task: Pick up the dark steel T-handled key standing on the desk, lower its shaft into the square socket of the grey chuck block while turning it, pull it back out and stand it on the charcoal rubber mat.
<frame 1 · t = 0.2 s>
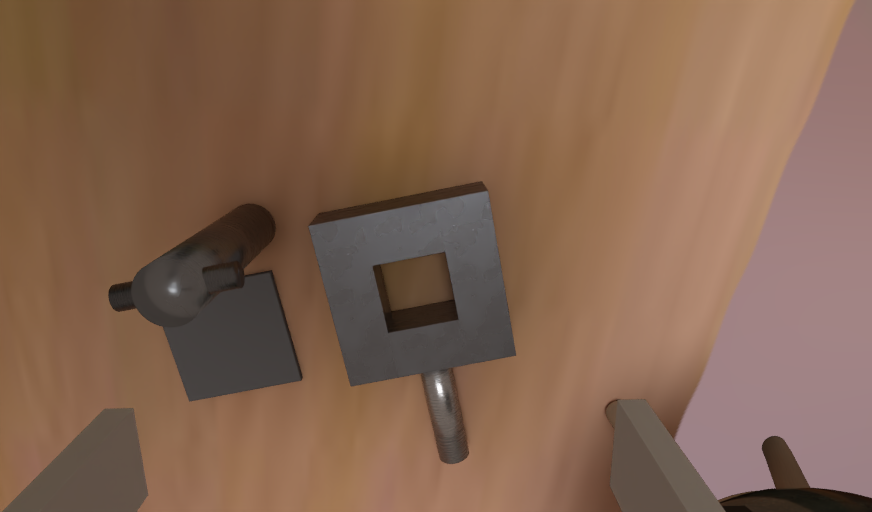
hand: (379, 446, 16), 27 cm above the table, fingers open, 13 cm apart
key: (251, 226, 42), on the table
mat: (230, 336, 44), on the table
planter: (675, 465, 49), on the table
chuck block: (416, 275, 43), on the table
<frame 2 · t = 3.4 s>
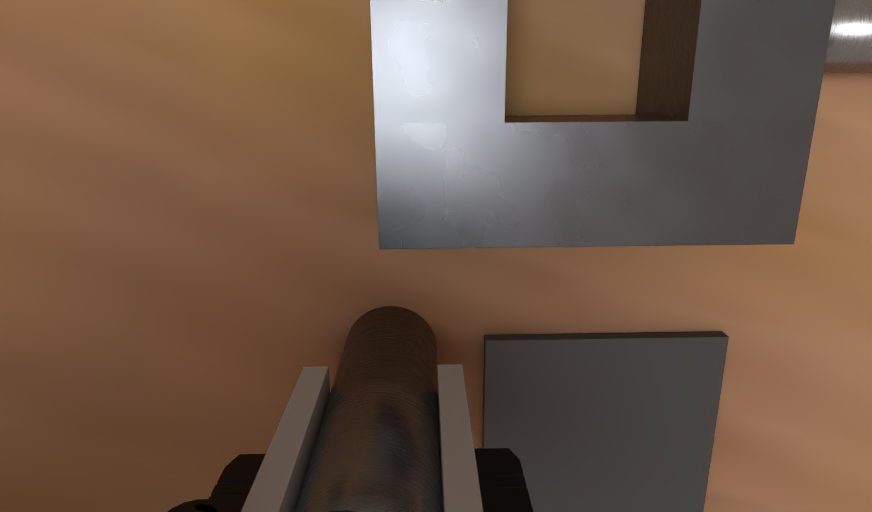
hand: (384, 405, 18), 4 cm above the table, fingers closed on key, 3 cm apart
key: (391, 348, 22), on the table, touching gripper
mat: (595, 437, 23), on the table
chuck block: (566, 36, 19), on the table
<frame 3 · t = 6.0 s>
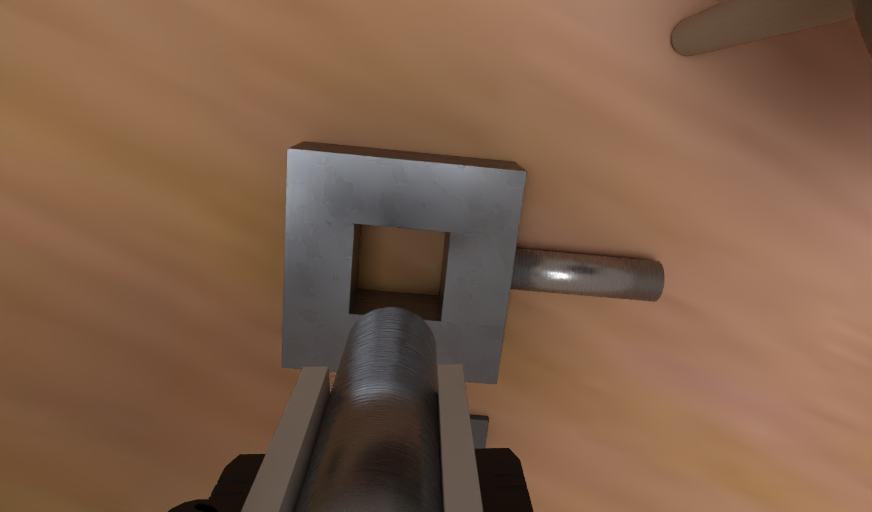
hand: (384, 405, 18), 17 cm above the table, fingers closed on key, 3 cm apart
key: (391, 349, 22), point 13 cm above the table, touching gripper
mat: (412, 470, 39), on the table
chuck block: (401, 253, 34), on the table
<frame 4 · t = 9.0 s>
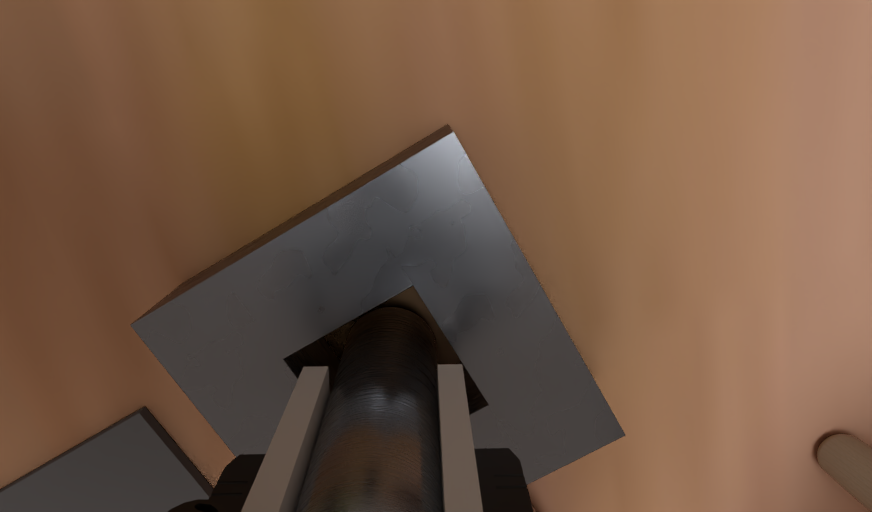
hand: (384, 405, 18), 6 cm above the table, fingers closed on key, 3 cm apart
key: (391, 349, 22), point 1 cm above the table, touching gripper
chuck block: (393, 333, 23), on the table
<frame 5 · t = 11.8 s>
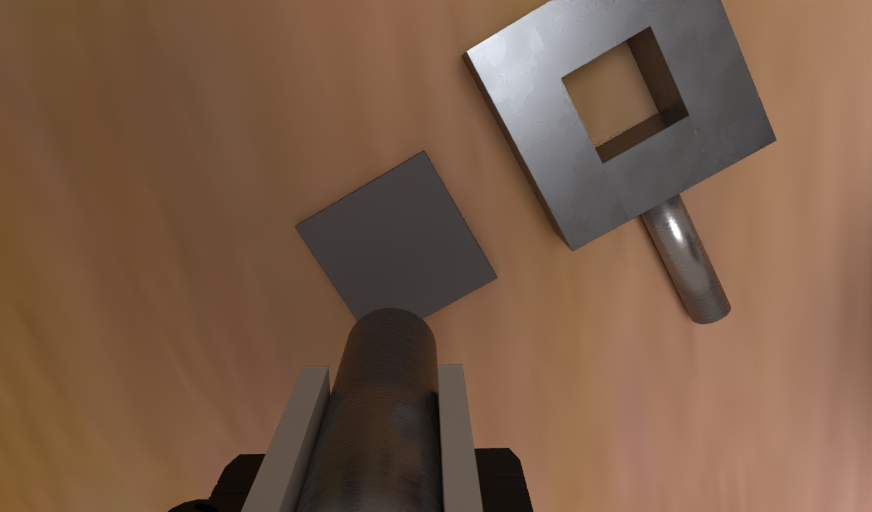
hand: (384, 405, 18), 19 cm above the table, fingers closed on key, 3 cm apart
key: (391, 349, 22), point 14 cm above the table, touching gripper
mat: (398, 250, 36), on the table
chuck block: (602, 96, 33), on the table
when the fingers open (6 cm above the table, at t = 14.5 s): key stays where it is, resting on mat.
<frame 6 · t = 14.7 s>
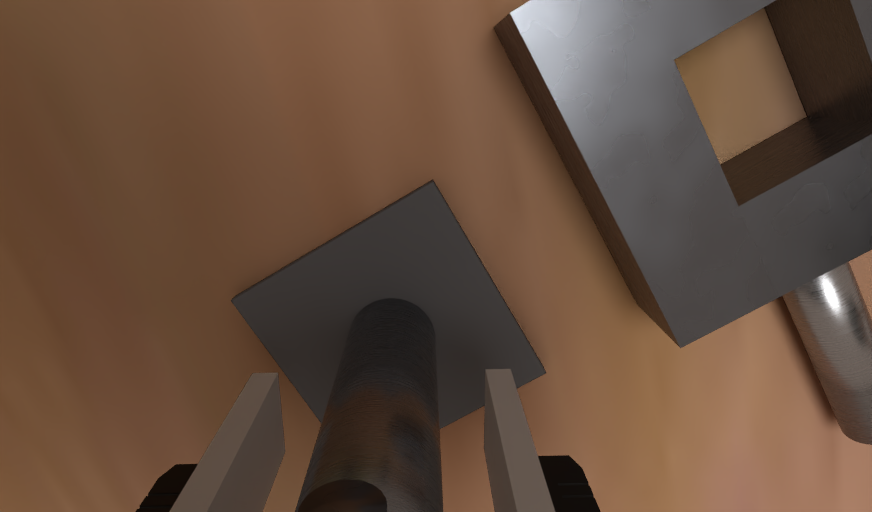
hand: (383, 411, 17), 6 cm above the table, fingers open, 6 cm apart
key: (392, 338, 23), point 1 cm above the table, touching mat
mat: (393, 332, 23), on the table
chuck block: (718, 91, 21), on the table
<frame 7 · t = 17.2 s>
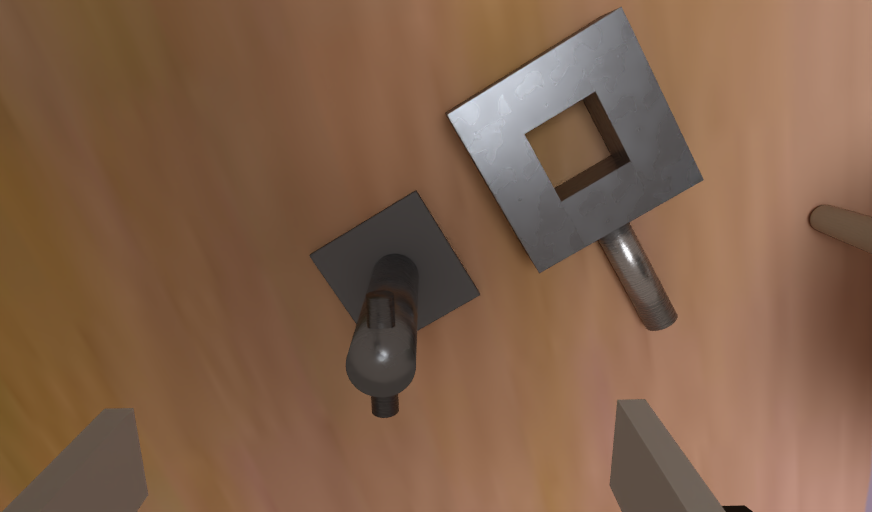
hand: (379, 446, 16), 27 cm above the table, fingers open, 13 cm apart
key: (395, 276, 42), resting on mat
mat: (396, 273, 42), on the table
chuck block: (563, 142, 40), on the table
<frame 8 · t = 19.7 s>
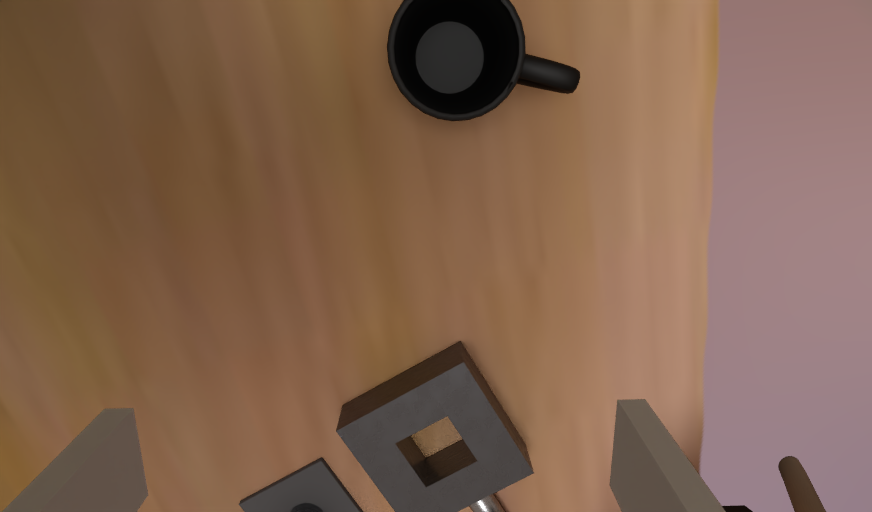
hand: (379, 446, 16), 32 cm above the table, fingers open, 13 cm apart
mug: (473, 65, 43), on the table
planter: (709, 503, 55), on the table
chuck block: (435, 425, 52), on the table
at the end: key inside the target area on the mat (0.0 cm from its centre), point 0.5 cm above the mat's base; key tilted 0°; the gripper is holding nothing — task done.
